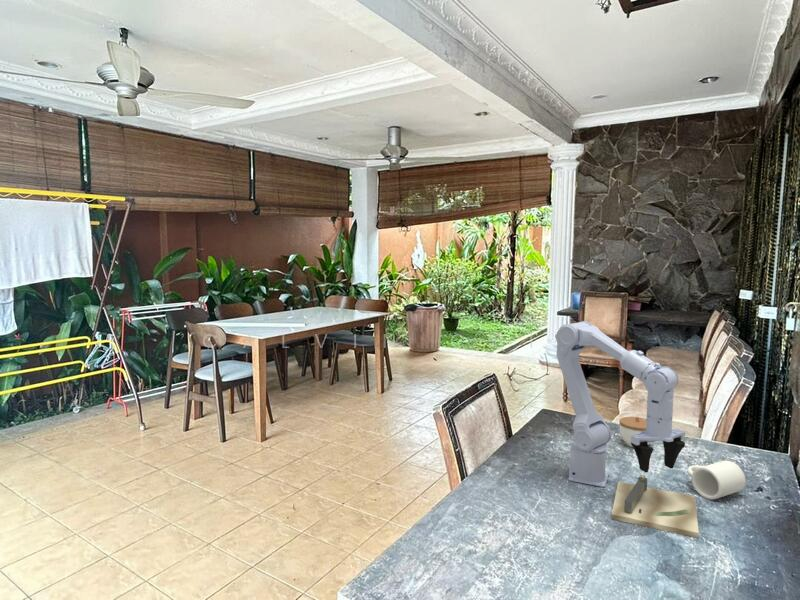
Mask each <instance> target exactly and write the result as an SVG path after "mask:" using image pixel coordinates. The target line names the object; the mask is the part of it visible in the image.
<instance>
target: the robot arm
mask: <svg viewBox="0 0 800 600" xmlns="http://www.w3.org/2000/svg"><path fill="white" fill-rule="evenodd" d="M554 336H555V340H556V343H557V344H556V358H557V361H558V365H559V368H560V371H561V373H562V377H563V380H564V383H565V386H566V390H567V391H568V395H569V399H570V402H571V405H572V407H573V411H574V414H575V418H574V420H573V423H572V428H573V442H574V444H572V445H570V451H569V467H568V481H570V482H575V483H580V484H586V485H591V486H596V487H600V488H601V487H602V488H605V487H606V485H607V480H608V476H609V475H608V474H607V473H606V460H607V444H608V443H609V442H610V441H611V439H612V430H611V428H610V426H608V424H607V423H606V421H605V418H604V416H602V414H600V413H599V412H597V410H596V408H595V405H594V402H593V398H592V396H591V392H590V390H589V386H588V383H587V380H586V377H585V374H584V371H583V369H582V366H581V362H580V359H579V356H580V354H581V353H582V351H583V349H585V347H588V346H589V347H591V346H592V347H595V348H596V349H598V350H599V351H601V352H604V354H607V355H609V357H612V358H614V359H615V360H617V361H618V362H619V364H620V367H621V369H623V370H624V371H625V372H627V373H628V374H630V375H631V376H633V377H635V378H636V379H638V380H639V381H641V382H642V383H643V385H644V388H645V389H646V390H647V399H646V401H647V403H646V417H645V419H646V430H645V431H643V432H640V433H638V434H635V435H631V445H632V446H633V447H632V448H633V450H634V453H635V454H636V458H637V461H638V466H639V471H642V472H643V473H648V472H649V470H650V461H651V457H652V454H653V452H654V448H653V447H651V446H650V444H648V443H649V442H651V443H654V442H662V445H663V451H664V453H663V455H664V457H663V458H664V459H663V462H664V466H665V467H667V468H669V469H674V467H675V464H676V462H677V458H678V456H679V455H680V452H682V450H683V449H684V448H685V447H686V441H684V440H685V439H686V438H685V436H686V432H685V430H682V429H679V428H678V429H673V415H674V414H673V412H674V392H675V391H674V389H675V388H676V387H677V386H678V384H679V376H678V374H677V372H676V371H675V370H673V368H672V367H670V366H661V364H660V363H659V362H655V361H653V360H651V359H650V358H649V357H647V356H646V355H644V352H643V351H642V350H636V349H631V350H628V349H626V348H625V347H623V346H622V345H621V344H619V343H618V342H616V341H615V340H613V339H612V338H611V337H610V336H608V335H607V334H605V333H604V332H602V331H601V330H600V328H598V326H595V325H593V324H592V323H591V322H588V321H586V320H582V321H579V322H574V323H565V324H562V325H561V326H559V328H558V330H557V331H556V334H555V335H554Z"/></svg>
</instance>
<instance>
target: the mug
mask: <svg viewBox="0 0 800 600" xmlns="http://www.w3.org/2000/svg"><path fill="white" fill-rule="evenodd" d="M686 473H687V475H688V476H689V477H691V482H692V485H693V488H694V490H695V491H696V492H697V493H698V494H699V495H700V496H701V497H703V498H704V499H707V500H712V501H713V500H717V499H720V498H722V497H726V496H729V495H732V494H735V493H739V492H741V491H743V489H745V486H746V482H747V481H746V480H747V479H746V476H745V474H744V472H743V469H741V468H740V466H738V465H737V463H735V462H732V461H729V460H721V461H718V462H717V461H716V462H715V463H711V464H710V463H709V464H707V465H697V464H695V465H691V466H690V465H689V466H688V468H687V469H686Z"/></svg>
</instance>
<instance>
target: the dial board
mask: <svg viewBox="0 0 800 600" xmlns="http://www.w3.org/2000/svg"><path fill="white" fill-rule="evenodd" d="M616 485H617V486H616V490H615V496H614V500H613V505H612V511H611V520H613V521H619V522H624V523H629V524H633V525H637V526H641V527H646V528H651V529H656V530H660V531H665V532H668V533H674V534H679V535H682V536H687V537H692V538H695V539H696V538H697V539H699V538H700V537H699V535H700V534H699V533H700V531H699V523H698V515H697V506H696V500H695V499H696V497H695V495H691V494H686V493H680V492H676V491H670V490H664V489H659V488H653V487H648V486H647V490H646V491H644V493H643V494H642V496H641V498H640V499H639V501H638V503H637V504H636V506H635V508H634V509H633V511H632V513H630V512H626V511H624V506H625V499H626V498H627V496H628V495H629V493H630V492H631V490H632V489H633V487H634V486H635V484H631V483H627V482H622V481H617V484H616Z"/></svg>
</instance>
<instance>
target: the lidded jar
mask: <svg viewBox="0 0 800 600" xmlns="http://www.w3.org/2000/svg"><path fill="white" fill-rule="evenodd" d="M645 430H646V417H645V418H644V417H640V416H623V417H621V418H620V419H619V432H620V437H621V439H622V440H623V441H624V443H625V444H626V446H629V447H630V448H633V446H632V445H631V435H635V434H638V433H640V432H643V431H645ZM651 443H652V442H649V443H648V444H649V445H650V444H651Z"/></svg>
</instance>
